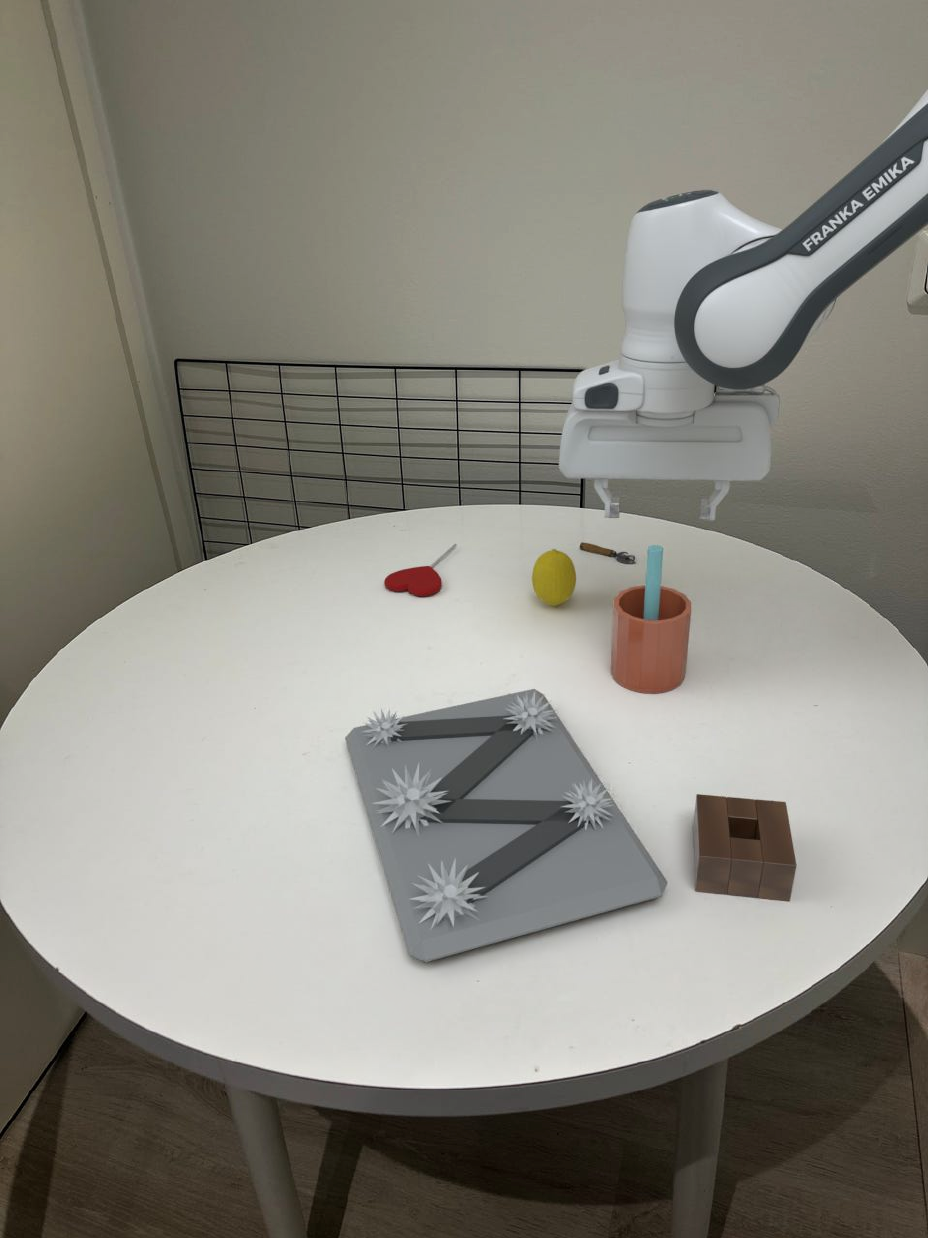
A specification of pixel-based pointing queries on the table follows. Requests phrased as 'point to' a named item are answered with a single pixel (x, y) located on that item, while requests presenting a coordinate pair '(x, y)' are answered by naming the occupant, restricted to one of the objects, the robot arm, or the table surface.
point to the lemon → (554, 577)
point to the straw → (653, 582)
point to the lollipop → (416, 579)
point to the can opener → (607, 552)
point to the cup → (650, 641)
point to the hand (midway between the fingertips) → (659, 517)
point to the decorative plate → (493, 824)
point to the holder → (743, 847)
